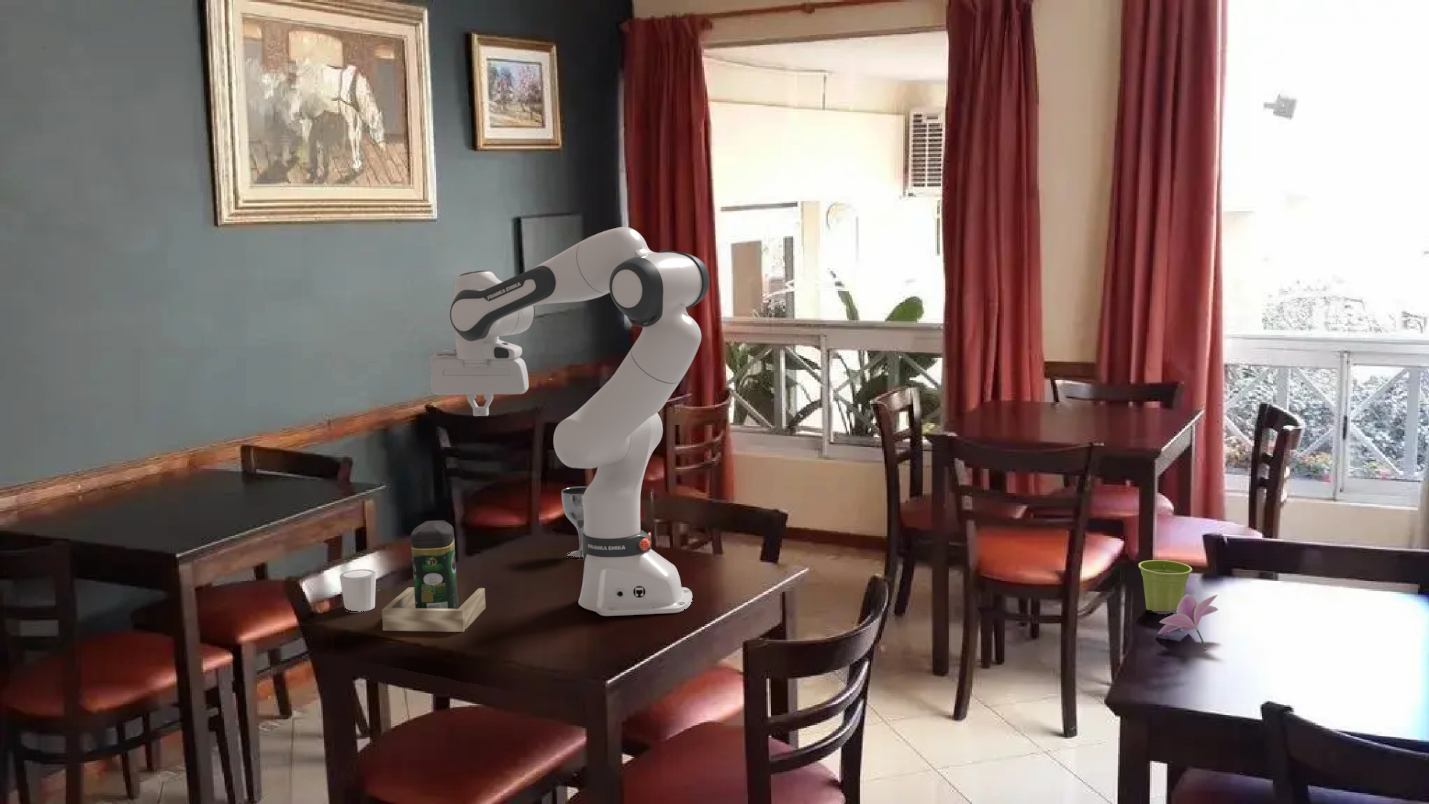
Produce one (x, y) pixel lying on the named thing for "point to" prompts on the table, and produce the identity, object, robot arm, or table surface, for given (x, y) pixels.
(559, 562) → the table surface
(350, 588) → the white cup
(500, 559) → the table surface
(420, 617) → the bay
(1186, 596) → the lily
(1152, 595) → the plant pot
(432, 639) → the table surface
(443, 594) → the coffee jar
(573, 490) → the wine glass
